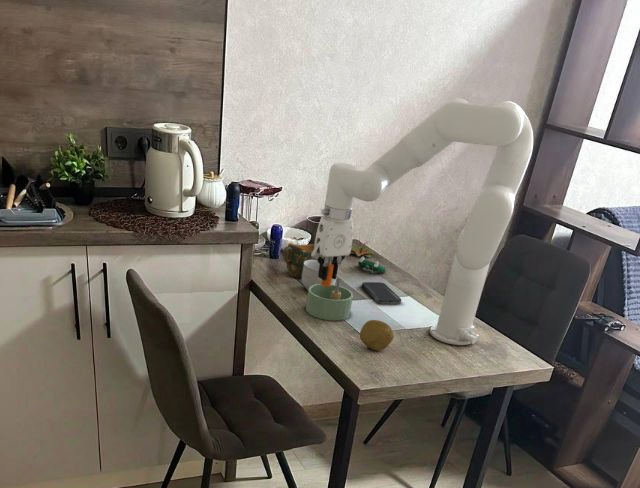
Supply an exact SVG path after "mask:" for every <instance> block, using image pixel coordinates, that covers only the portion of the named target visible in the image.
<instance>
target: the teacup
mask: <svg viewBox="0 0 640 488" xmlns="http://www.w3.org/2000/svg"><path fill="white" fill-rule="evenodd" d="M319 266H320V264H319V263H318V261H317V260H307V261H305V262H304V266H303V272H302V278H301V283H302V285H303V287H304V288H305V289H306V290H307V291H308V289H309V287H310V286H312V285H315V284H321V281H322V279H321V278H319V277H318V272H319ZM339 270H340V268H339V267H338V272H337V275H338V274H339ZM337 279H338V276H337V277H336V279H333V278H332V281H331V284H333V285H336V283H337Z"/></svg>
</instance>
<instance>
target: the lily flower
mask: <svg viewBox="0 0 640 488" xmlns="http://www.w3.org/2000/svg"><path fill="white" fill-rule="evenodd" d="M357 241H358V244H356V246H351V251H350V254H354V255H356V256H357V257H361V256H363V257H367V258H372V255H375V256H377V254H376V253H375V250H372V249H368V243H369V242H368V240H367V241H366V242H364V243H362V242H361V240H360V239H358V240H357ZM363 241H364V239H363Z"/></svg>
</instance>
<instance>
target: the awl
mask: <svg viewBox="0 0 640 488" xmlns="http://www.w3.org/2000/svg"><path fill="white" fill-rule="evenodd" d="M340 280H341V278H338V277H337V279H336V285H337V286H336V290H335V291H332V295H331V299H332V300H340V296H341V292H339V290H338V287H339V286H340Z"/></svg>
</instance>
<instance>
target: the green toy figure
mask: <svg viewBox="0 0 640 488" xmlns="http://www.w3.org/2000/svg"><path fill="white" fill-rule="evenodd" d="M357 266H359V267H361V268H362V270H363V271H367V270H369V271H370V273H371V274H374V273H379V274H384V273H386V272H387V269H386V267H385V266H383V265H380V263H379V261H378V260H377V261H375V262H374V261H371V260H367V259H366V258H365V256H361V257H360V259H358V265H357Z"/></svg>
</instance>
